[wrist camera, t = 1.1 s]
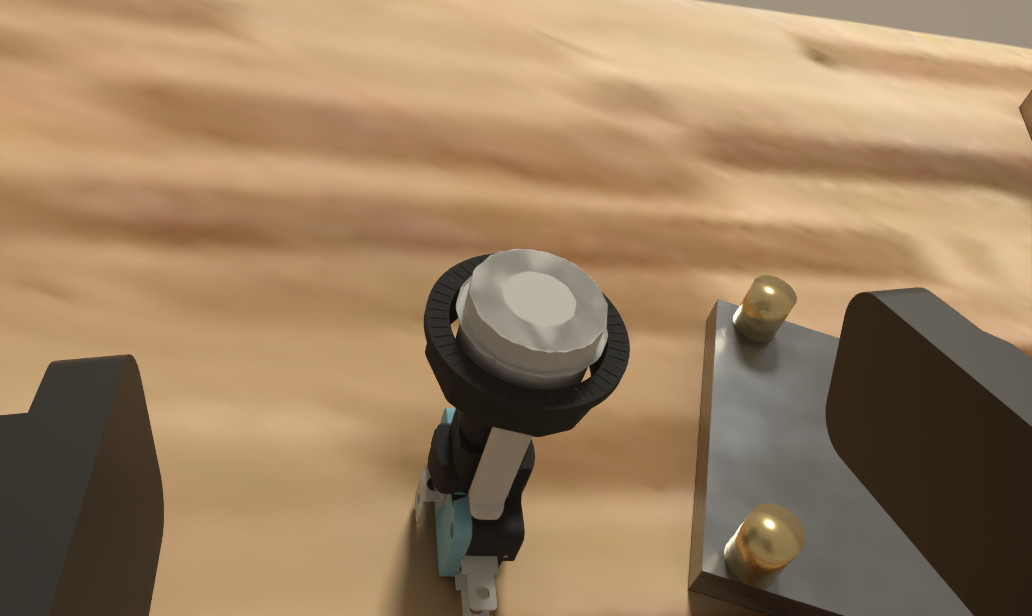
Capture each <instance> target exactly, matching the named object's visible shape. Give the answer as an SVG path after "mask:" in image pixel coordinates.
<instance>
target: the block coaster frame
mask: <svg viewBox="0 0 1032 616" xmlns="http://www.w3.org/2000/svg"><path fill="white" fill-rule="evenodd" d="M1019 108H1020V111H1021V113H1022V116H1023V118H1024V121H1025V123H1026V126H1027V128H1028V131H1029V133H1030V136H1031V138H1032V90H1031V92H1030V93H1029V94H1028V96H1027V97H1026V98H1025V100H1024V101H1023V103H1022V104H1021V105H1020V107H1019Z"/></svg>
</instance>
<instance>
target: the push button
mask: <svg viewBox="0 0 1032 616" xmlns="http://www.w3.org/2000/svg"><path fill="white" fill-rule="evenodd" d="M458 318H459V322H460V325H459V328H458V332H457V335H456V339H455V337H454V335H453V332H452V330H451V326H450V325H451V324H452V323H453V322H454V321H455V320H456V319H458ZM424 332H425V336H426V341H427V345H426V350H425V354H426V357H427V360H428V362H429V364H430V366H431V368H432V370H433V372H434V375H435V377H436V379H437V381H438V383H439V385H440V387H441V390H442V392H443V394H444V396H445V398H446V400H447V401H448V402H449V403H450V404H451V405H453V406H454V407H455V408H456V409H454V408H445V410H444V413H443V416H442V420H441V423H440V425H438V427H437V429H435V431H434V434H433V438H432V442H431V448H430V452H429V456H428V468H429V470H426V469H425V470H423V471H422V476H421V477H420V481H419V484H418V487H417V491H416V497H415V508H416V522H417V523H420V520H421V517H422V513H423V510H424V507H425V502H427V501H434V502H435V519H436V536H437V553H438V570H439V576H448V577H455V584H456V590H461V598H462V611H463V616H490V612H489V611H494V610H495V609H496V608H497V599H496V589H495V579H494V577H495V576H499V569H498V568H499V566H500V564H501V562H502V561H514V560H515V558H516V555H517V553H518V551H519V549H520V547H521V545H522V543H523V540H524V533H525V530H524V521H523V513H522V506H521V496H522V492H523V490H524V488H525V486H526V484H527V481H528V479H529V477H530V474H531V472H532V470H533V466H534V461H535V451H534V446H533V442H532V440H531V438H532V436H534V437H542V436H546V435H551V434H555V433H559V432H563V431H568V430H571V429H572V428H574V427H575V425H576V424H577V423H578V422H579V421H580V420H581V419H582V418H583V417H584V416H585V415H586V413H587V412H588V411H589V410H590V409H591V408H593V407H595V406H596V405H598V404H600V403H601V402H602V401H604V400H605V399H606V398H607V397H608V396H609V395H610V394H612V392H613V391H614V390H615V388H616V387H617V386H618V384H619V382H620V380H621V378H622V376H623V374H624V372H625V370H626V367H627V364H628V360H629V352H630V346H629V338H628V333H627V330H626V327H625V324H624V322H623V320H622V318H621V316H620V314H619V313H618V311H617V309H616V308H615V307H614V305H613V304H612V303H611V301H610V300H609V299H608V298H607V297H606V296H605V295H604V294H603V293H602V292H601V291H600V289H599V287H598V285H597V283H596V282H595V281H594V280H593V278H591V277H590V276H588V275H587V274H586V273H584V272H583V271H582V270H581V269H580V268H579V267H577V266H576V265H575V264H574V263H571V262H569V261H567V260H566V259H564V258H560V257H557V256H555V255H552V254H550V253H547V252H543V251H536V250H532V249H526V250H524V249H513V250H509V251H503V252H498V253H496V254H488V255H482V256H477V257H474V258H471V259H468V260H465V261H463V262H461V263H458V264H457V265H455V266H453V267H452V268H450V269H449V270H448V271H446V272H445V273H444V274H443V275H442V276H441V277H440V278H439V279H438V281H437V282H436V283H435V284H434V286H433V288H432V290H431V292H430V295H429V297H428V301H427V305H426V309H425V314H424ZM588 366H589V368H590V372H591V377H590V378H588V379H587V380H585V381H583V382H581V381H582V379H583V377H584V375H585V373H586V370H587V368H588ZM419 501H420V503H419ZM488 592H489V597H488ZM469 605H470V609H471V610H473V611H482V612H481V613H480V614H473V613H472V612H471V611H470V609H469Z"/></svg>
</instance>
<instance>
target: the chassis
mask: <svg viewBox="0 0 1032 616" xmlns="http://www.w3.org/2000/svg"><path fill="white" fill-rule="evenodd" d="M796 301H797V297H796V294H795V292H794V290H793V289H792V288H791V286H790V285H788V284H787V283H786V282H784V281H783V280H781V279H779V278H777V277H773V276H768V275H763V276H759V277H757V278H756V279H755V280H754V282H753V284H752V286H751V287H750V289H749V291H748V292H747V294H746V296H745V298H744V299H743V301H742V303H741V304H740V306H737V305H734V304H731V303H728V302H725V301H722V300H719V299H718V300H717V302H716V303H715V305H714V307H713V309H712V311H711V312H710V314H709V316H708V318H707V324H706V338H705V353H704V367H703V381H702V396H701V410H700V425H699V439H698V453H697V468H696V482H695V496H694V511H693V525H692V540H691V554H690V568H689V583H688V589H690V590H693V591H696V592H699V593H703V594H706V595H709V596H712V597H715V598H718V599H722V600H725V601H728V602H731V603H734V604H737V605H741V606H744V607H747V608H750V609H753V610H756V611H760V612H763V613H766V614H769V615H772V616H974V615H973V614H972V613H971V612H970V611H969V609H968V608H967V607H966V606H965V605H964V604H963V602H962V601H961V600H960V599H959V598H958V596H957V595H956V594H955V593H954V592H953V591H952V589H951V588H950V587H949V586H948V585H947V583H946V582H945V581H944V580H943V579H942V578H941V576H940V575H939V574H938V573H937V572H936V570H935V569H934V568H933V567H932V566H931V565H930V563H929V562H928V561H927V560H926V559H925V557H924V556H923V555H922V554H921V553H920V552H919V550H918V549H917V548H916V547H915V546H914V544H913V543H912V542H911V541H910V540H909V539H908V537H907V536H906V535H905V534H904V533H903V531H902V530H901V529H900V528H899V527H898V526H897V524H896V523H895V522H894V521H893V520H892V518H891V517H890V516H889V515H888V514H887V513H886V511H885V510H884V509H883V508H882V507H881V505H880V504H879V503H878V502H877V501H876V500H875V498H874V497H873V496H872V495H871V494H870V492H869V491H868V490H867V489H866V488H865V487H864V485H863V484H862V483H861V482H860V481H859V479H858V478H857V477H856V476H855V475H854V474H853V472H852V471H851V470H850V469H849V468H848V466H847V465H846V464H845V463H844V462H843V461H842V459H841V458H840V457H839V456H838V454H837V453H836V451H835V449H834V448H833V446H832V443H831V441H830V438H829V435H828V431H827V426H826V416H825V410H826V401H827V396H828V392H829V387H830V382H831V377H832V373H833V368H834V363H835V359H836V354H837V349H838V345H839V340H840V339H839V338H836V337H833V336H830V335H827V334H824V333H821V332H818V331H814V330H811V329H808V328H805V327H802V326H799V325H796V324H793V323H790V322H787V321H784V320H785V319H786V317H787V316H788V314H789V313H790V311H791V310H792V308H793V306H794V305H795V303H796Z"/></svg>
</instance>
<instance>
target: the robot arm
mask: <svg viewBox="0 0 1032 616" xmlns="http://www.w3.org/2000/svg"><path fill="white" fill-rule="evenodd" d="M825 416H826V426H827V431H828V435H829V438H830V441H831V443H832V446H833V448H834V449H835V451H836V453H837V454H838V456H839V457H840V458H841V459H842V461H843V462H844V463H845V464H846V465H847V466H848V468H849V469H850V470H851V471H852V472H853V474H854V475H855V476H856V477H857V478H858V479H859V481H860V482H861V483H862V484H863V485H864V487H865V488H866V489H867V490H868V491H869V492H870V494H871V495H872V496H873V497H874V498H875V500H876V501H877V502H878V503H879V504H880V505H881V507H882V508H883V509H884V510H885V511H886V513H887V514H888V515H889V516H890V517H891V518H892V520H893V521H894V522H895V523H896V524H897V526H898V527H899V528H900V529H901V530H902V531H903V533H904V534H905V535H906V536H907V537H908V539H909V540H910V541H911V542H912V543H913V544H914V546H915V547H916V548H917V549H918V550H919V552H920V553H921V554H922V555H923V556H924V557H925V559H926V560H927V561H928V562H929V563H930V565H931V566H932V567H933V568H934V569H935V570H936V572H937V573H938V574H939V575H940V576H941V578H942V579H943V580H944V581H945V582H946V583H947V585H948V586H949V587H950V588H951V589H952V591H953V592H954V593H955V594H956V595H957V596H958V598H959V599H960V600H961V601H962V602H963V604H964V605H965V606H966V607H967V608H968V609H969V611H970V612H971V613H972V614H973V615H974V616H1032V358H1030V357H1029V356H1027V355H1026V354H1025V353H1023V352H1022V351H1021V350H1019V349H1018V348H1017V347H1015V346H1014V345H1013V344H1011V343H1009V342H1006V341H1004V340H1002V339H1000V338H998V337H995V336H993V335H991V334H989V333H987V332H984V331H982V330H981V329H979V328H978V327H977V326H975V325H974V324H973V323H971V322H970V321H969V320H967V319H966V318H965V317H963V316H962V315H961V314H960V313H958V312H957V311H956V310H954V309H953V308H952V307H950V306H949V305H948V304H946V303H945V302H944V301H942V300H941V299H940V298H938V297H937V296H936V295H934V294H933V293H932V292H930V291H929V290H927V289H924V288H906V289H895V290H883V291H872V292H862V293H859V294H857V295H855V296H854V297H853V298H852V300H851V301H850V303H849V304H848V307H847V309H846V313H845V316H844V321H843V326H842V331H841V335H840V340H839V345H838V349H837V354H836V359H835V363H834V368H833V373H832V377H831V382H830V387H829V392H828V396H827V401H826V410H825ZM163 527H164V501H163V489H162V481H161V475H160V470H159V465H158V460H157V455H156V450H155V445H154V440H153V435H152V430H151V425H150V420H149V415H148V411H147V406H146V401H145V396H144V391H143V386H142V381H141V376H140V372H139V369H138V365H137V363H136V360H135V359H134V357H133V356H132V355H130V354H128V355H117V356H105V357H94V358H82V359H71V360H59V361H53V362H51V363H50V364H49V366H48V368H47V370H46V372H45V374H44V377H43V379H42V381H41V384H40V386H39V388H38V391H37V393H36V395H35V397H34V400H33V402H32V404H31V407H30V409H29V411H28V413H20V414H10V415H0V616H149V611H150V605H151V600H152V594H153V588H154V583H155V577H156V571H157V566H158V560H159V554H160V548H161V543H162V536H163Z"/></svg>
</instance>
